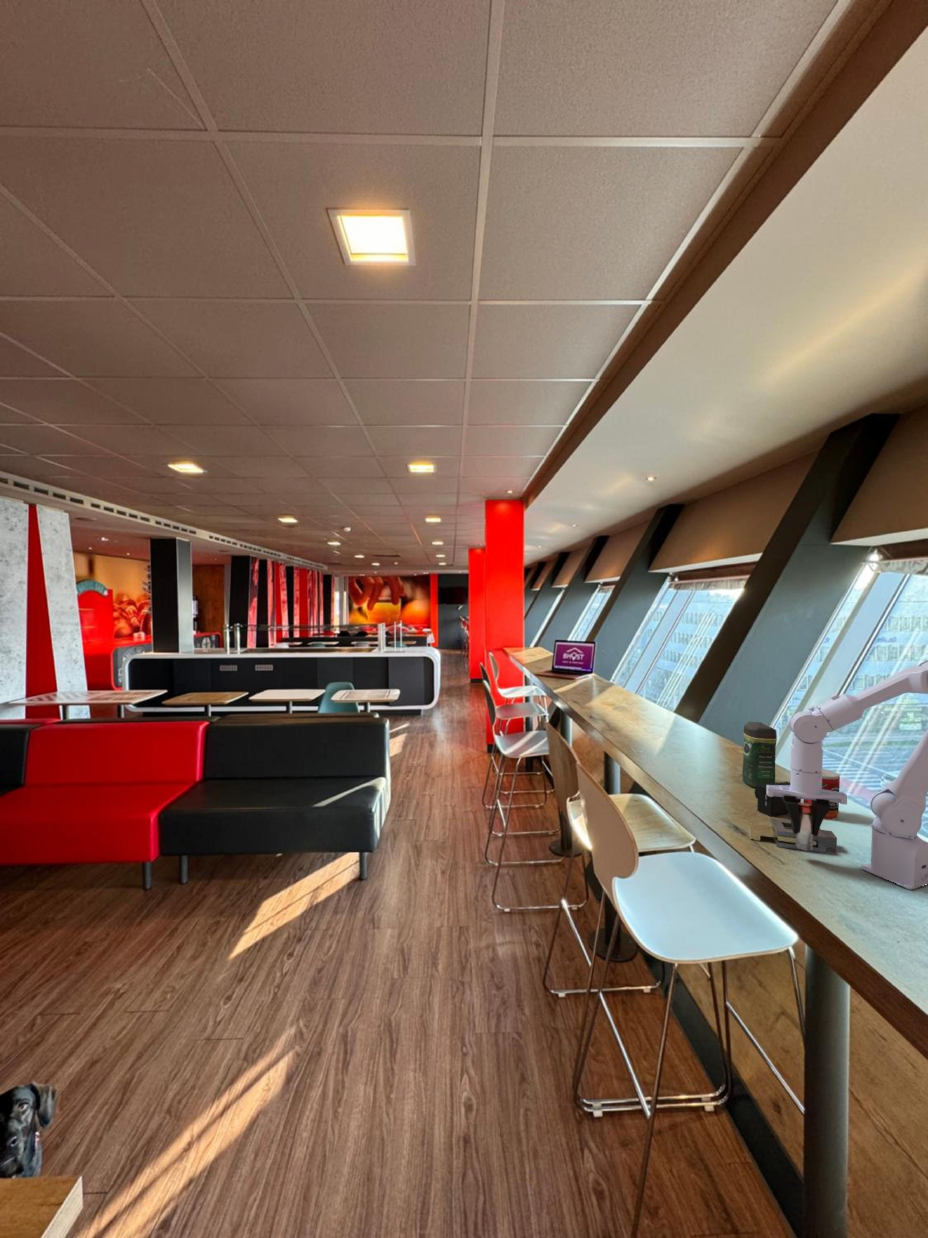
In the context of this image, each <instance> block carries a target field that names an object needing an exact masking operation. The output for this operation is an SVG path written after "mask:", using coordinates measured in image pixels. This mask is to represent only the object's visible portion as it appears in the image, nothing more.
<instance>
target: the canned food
mask: <svg viewBox="0 0 928 1238" xmlns="http://www.w3.org/2000/svg"><path fill="white" fill-rule="evenodd" d="M840 776H841V775H840V774H839V773H838V772H836V771H834V770H830V769H825V768H822V789H824V790H830V791H835V792H840V786H841V785H840V784H841V783H840V782H841V780H840ZM802 803H807V804H811V805H812V802H811V800H807V799H803V802H802ZM829 804H830V805H831V808H830V811H829V812H828V813H827V815H826V816H825V818H824V819H823V820H835V819H837V818H838V816H839V810H840V809H839V808H840V805H839V804H840V803H836V802H829Z"/></svg>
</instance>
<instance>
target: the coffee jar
mask: <svg viewBox="0 0 928 1238" xmlns="http://www.w3.org/2000/svg"><path fill="white" fill-rule="evenodd" d="M777 738H778V737H777V730H776V729H775V728H773V727H772V726H768V725H767V724H764V723H763V722H759V721H748V722H747V723H745V724H744V727H743V758H742V759H743V760H742V761H743V762H742V775H741V779H742V781H743V782H744V783H745V784H747V785H748V786H749V787H753V788H756V787H757V785H759V784H761V783H763V784H773V783H776V749H777V748H776V747H777V746H776V745H777V741H778V740H777Z"/></svg>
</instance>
